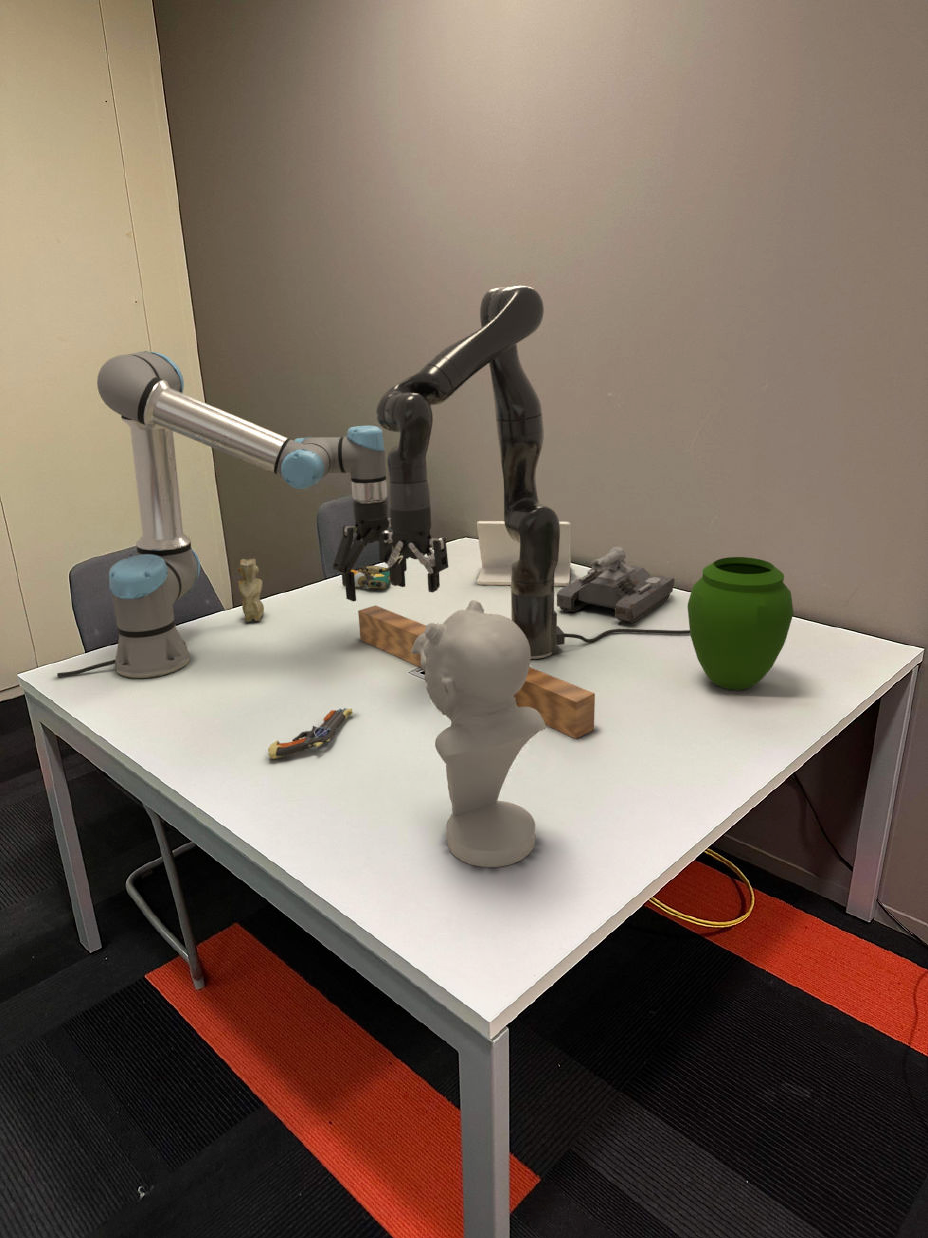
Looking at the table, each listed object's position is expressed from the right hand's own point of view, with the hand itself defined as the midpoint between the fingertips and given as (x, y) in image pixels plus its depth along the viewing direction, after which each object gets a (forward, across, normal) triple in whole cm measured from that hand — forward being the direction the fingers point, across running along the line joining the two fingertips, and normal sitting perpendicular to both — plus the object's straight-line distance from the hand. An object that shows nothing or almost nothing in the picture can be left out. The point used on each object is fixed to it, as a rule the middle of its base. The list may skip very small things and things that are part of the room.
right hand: (414, 587), depth 162 cm
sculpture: (+22, +61, -14) cm, 66 cm away
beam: (+22, -4, -10) cm, 25 cm away
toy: (+23, -13, -66) cm, 71 cm away
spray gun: (+22, +53, -51) cm, 77 cm away
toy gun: (+22, +6, +25) cm, 34 cm away
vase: (+23, -52, -35) cm, 66 cm away
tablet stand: (+23, +19, -76) cm, 82 cm away
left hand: (+10, +24, -18) cm, 32 cm away
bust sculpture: (+22, -34, +35) cm, 53 cm away
